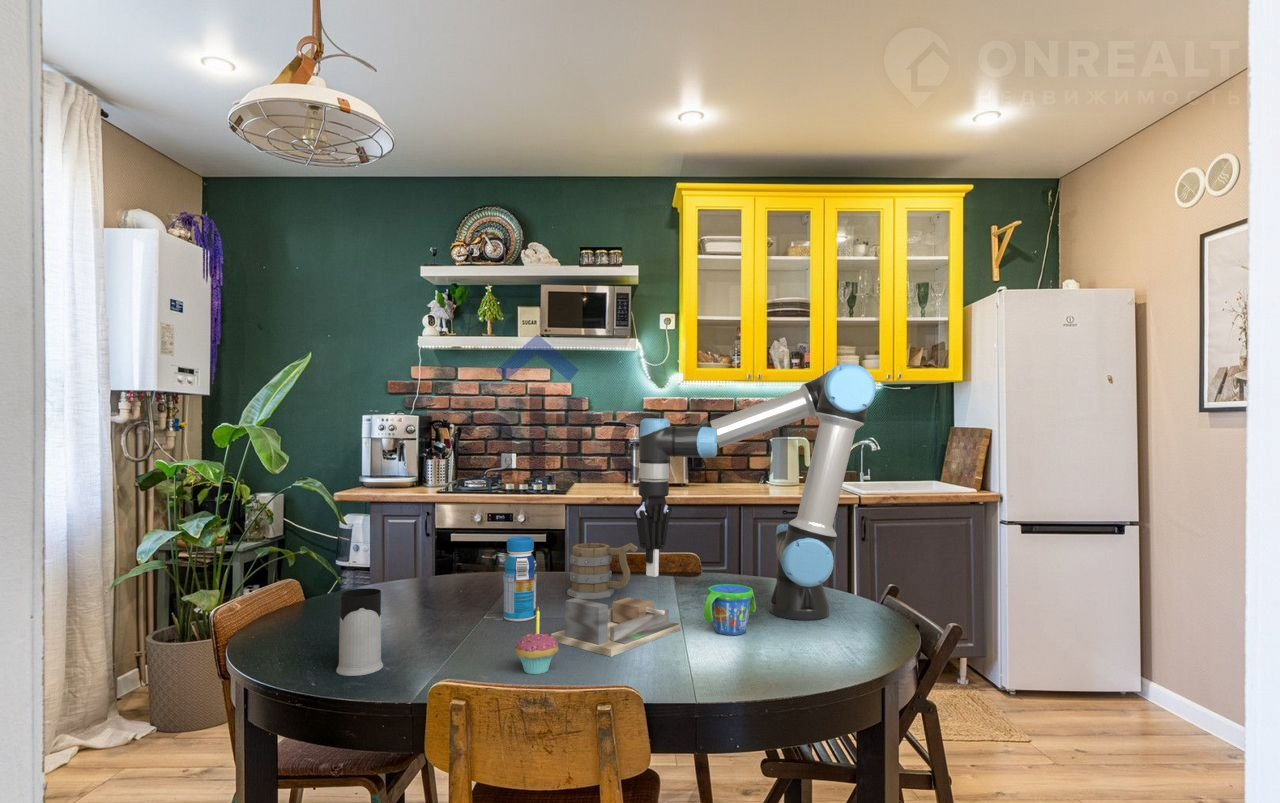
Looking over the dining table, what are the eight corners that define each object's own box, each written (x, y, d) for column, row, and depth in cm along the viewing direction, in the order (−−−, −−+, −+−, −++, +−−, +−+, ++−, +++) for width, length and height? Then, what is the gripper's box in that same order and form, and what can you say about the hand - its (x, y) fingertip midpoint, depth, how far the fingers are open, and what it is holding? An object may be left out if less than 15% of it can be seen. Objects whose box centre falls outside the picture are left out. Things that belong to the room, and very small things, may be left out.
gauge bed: (680, 630, 168) (680, 589, 168) (611, 656, 149) (611, 611, 149) (622, 617, 179) (622, 579, 180) (550, 640, 160) (551, 598, 160)
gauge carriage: (671, 625, 165) (671, 605, 166) (655, 631, 161) (655, 610, 161) (628, 616, 173) (628, 597, 174) (612, 621, 169) (612, 601, 169)
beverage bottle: (496, 620, 177) (496, 539, 177) (514, 612, 184) (515, 535, 185) (525, 623, 173) (526, 541, 174) (542, 615, 181) (543, 537, 182)
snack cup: (740, 621, 176) (740, 580, 176) (770, 632, 167) (770, 588, 167) (690, 631, 167) (690, 588, 167) (719, 643, 158) (719, 597, 159)
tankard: (563, 598, 199) (564, 545, 200) (575, 588, 212) (575, 538, 212) (633, 601, 196) (633, 547, 197) (641, 591, 208) (641, 540, 209)
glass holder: (336, 678, 136) (337, 599, 136) (335, 656, 149) (337, 584, 149) (384, 672, 139) (385, 595, 140) (380, 651, 152) (381, 580, 153)
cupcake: (517, 663, 144) (517, 604, 145) (559, 662, 145) (559, 603, 145) (513, 678, 136) (513, 615, 136) (557, 677, 136) (558, 614, 137)
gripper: (657, 478, 184) (656, 569, 183) (625, 480, 173) (623, 577, 173) (681, 479, 179) (679, 573, 178) (649, 482, 169) (648, 582, 168)
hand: (652, 575), depth 175 cm, fingers closed
